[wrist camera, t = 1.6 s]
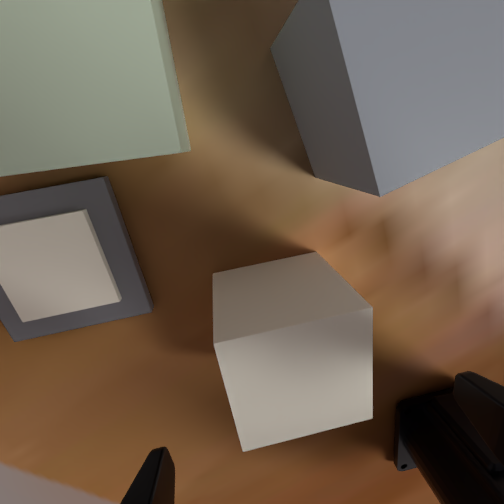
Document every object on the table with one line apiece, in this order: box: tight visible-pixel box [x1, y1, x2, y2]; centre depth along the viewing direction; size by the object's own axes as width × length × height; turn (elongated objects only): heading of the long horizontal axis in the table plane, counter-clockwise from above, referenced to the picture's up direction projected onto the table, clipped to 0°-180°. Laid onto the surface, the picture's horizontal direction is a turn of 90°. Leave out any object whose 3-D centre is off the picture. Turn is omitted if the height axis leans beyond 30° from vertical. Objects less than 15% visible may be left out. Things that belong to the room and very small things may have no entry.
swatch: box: [0, 176, 154, 342], centre depth 11 cm, size 6×6×1 cm
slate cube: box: [270, 0, 504, 197], centre depth 9 cm, size 5×5×5 cm
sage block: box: [0, 0, 191, 177], centre depth 8 cm, size 7×7×4 cm
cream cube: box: [213, 252, 373, 452], centre depth 12 cm, size 5×5×5 cm
